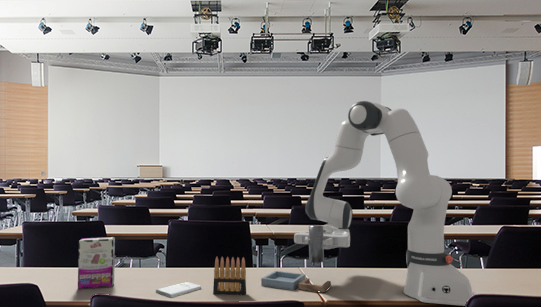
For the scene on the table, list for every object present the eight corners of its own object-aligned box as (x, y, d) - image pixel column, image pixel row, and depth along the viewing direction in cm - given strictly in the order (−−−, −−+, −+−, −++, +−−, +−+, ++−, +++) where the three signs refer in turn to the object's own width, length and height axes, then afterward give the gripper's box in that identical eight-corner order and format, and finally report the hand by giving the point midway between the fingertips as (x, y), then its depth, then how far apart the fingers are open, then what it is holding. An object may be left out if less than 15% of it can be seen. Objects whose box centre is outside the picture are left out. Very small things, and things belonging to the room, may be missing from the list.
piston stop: (325, 260, 133) (325, 225, 134) (321, 263, 129) (320, 227, 129) (312, 259, 135) (311, 224, 136) (307, 261, 131) (306, 226, 132)
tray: (305, 281, 140) (305, 274, 140) (293, 290, 129) (293, 282, 129) (275, 277, 145) (275, 270, 145) (261, 285, 134) (261, 278, 134)
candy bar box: (114, 283, 136) (115, 236, 137) (112, 287, 131) (113, 238, 132) (80, 285, 133) (81, 237, 134) (76, 289, 128) (78, 240, 129)
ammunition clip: (246, 293, 125) (246, 256, 126) (245, 295, 123) (245, 257, 124) (214, 292, 126) (214, 255, 126) (212, 294, 124) (213, 257, 125)
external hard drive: (155, 294, 126) (186, 285, 135) (170, 299, 120) (201, 290, 130) (155, 289, 126) (186, 281, 135) (171, 294, 121) (201, 285, 130)
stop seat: (330, 287, 133) (330, 281, 133) (324, 293, 126) (324, 287, 126) (306, 283, 136) (306, 278, 136) (298, 289, 130) (298, 283, 130)
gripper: (301, 227, 149) (287, 231, 136) (353, 229, 140) (344, 234, 128) (301, 243, 148) (287, 249, 136) (353, 246, 140) (344, 253, 127)
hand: (315, 242), depth 132 cm, fingers closed on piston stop, 5 cm apart
